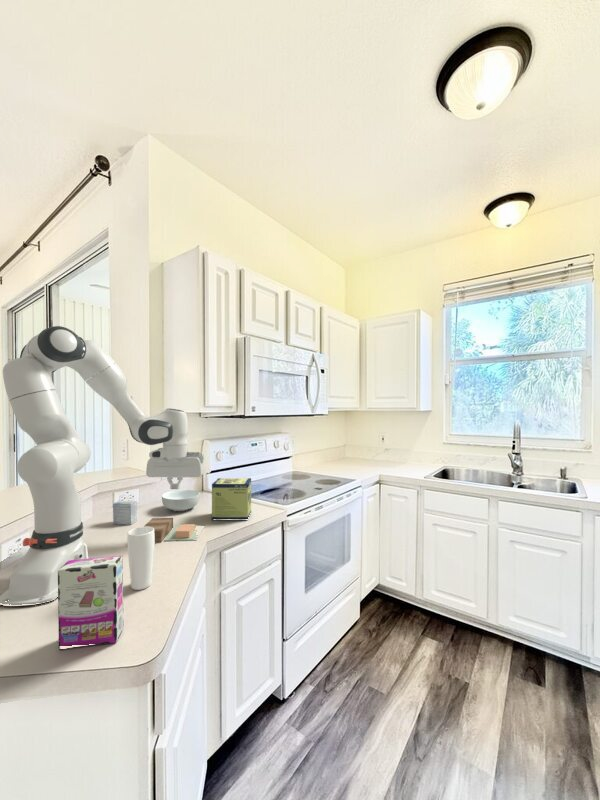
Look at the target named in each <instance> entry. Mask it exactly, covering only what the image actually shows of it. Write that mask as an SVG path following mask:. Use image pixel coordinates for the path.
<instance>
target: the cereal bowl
mask: <svg viewBox="0 0 600 800" xmlns="http://www.w3.org/2000/svg"><path fill="white" fill-rule="evenodd" d="M200 498H201V493H200V491H198V490H195V489H174V490H171V491H166V492H164V493H163V494H162V495H161V502H162V505H163V506H164V508H166V509H168V510H171V511H172V510H173V512H176V511H181V512H186V511H188V509H189V510H190V509H192V508H194V507H195V506H197V505H198V503H200ZM185 510H186V511H185Z"/></svg>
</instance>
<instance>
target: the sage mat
mask: <svg viewBox="0 0 600 800" xmlns="http://www.w3.org/2000/svg"><path fill="white" fill-rule="evenodd" d="M180 526H181V525H175V526H174V527H173V529H172V530H171V531H170V532H169V533H168V535H167V536H166V537H165V538H164V539H163V541H164V542H177V541H176V540H189V541H194V540H193V539H197V538H198V539H199V537H196V536H198V535H196V532H197V530H195V531H196V532H194V533H193V534H192V535H191V536H190V538H175V531H176V530H177V529H178V528H179V527H180ZM196 526H198V525H196V524H195V528H196ZM198 539H197V540H198Z"/></svg>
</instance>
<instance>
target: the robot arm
mask: <svg viewBox="0 0 600 800" xmlns="http://www.w3.org/2000/svg"><path fill="white" fill-rule="evenodd" d="M64 367H68V368H70V369H72V370H74V371H76V373H77V374H79V376H80V377H81V378H82V380H83V381H84V382H85V383H86V384H87V385H88V386H89V387H90V389H91V390H93V391H94V392H95V393H96V394H97V395H99V396H100V397H101V398H103V399H104V400H105V401H107V402H108V403H109V404H110V405H112V406H113V408H114V409H115V410H116V411H117V412H118V413H119V415H120V416H121V417H122V418H123V420H124V421H125V422H126V424H127V425H128V431H129V432H130V433H129V434H130V435H131V437H132V439H133V440H134V441H136V442H138V443H141V444H145V445H147V446H155V445H159V444H162V447H160V448H158V449H154V450H152V451H150V452H149V453H148V457H149V459H148V460H147V462H146V470H145V474H146V476H147V477H148V478H167V480H166V481H167V483H168V484H169V486H170V490H180V485H181V482H182V481H183V479H184V478H201V476H203V475H204V467H203V466H204V465H203V463H204V455H203V454H202V453H201V452H199V451H195V452H194V451H188V450H189V442H188V434H189V420H188V415H187V413H186V412H185V411H184V410H181V409H176V408H165V409H164V410H163V411H161V412H160V413H158V414H156V415H153V416H148V415H146V414H145V413H143V412H142V410H141V409H140V408H139V407H138V405H137V404H136V403H135V401H134V400H133V399H132V398H131V396H130V394H129V392H128V385H127V384H128V381H127V378H126V375H125V374H124V372H123V370H122V369H121V367H120V366H119V365H118V363H117V362H116V361H115V360H114V359H113V358H112V356H111V355H110V354H109V353H108V352H106V350H105V349H103V348H102V347H101V346H100V345H99V344H98V343H96V341H93V340H89V339H87V340H84V338H82V337H81V336H79V335H78V334H77V333H75V332H74V331H73V330H71V329H69V328H67V327H64V326H60V325H55V326H50V327H47V328H44V329H43V330H41V331H40V332H39V333H37V334H36V335H35V336H33V337H31V338H30V340H28V342H27V343H26V344H25V345H24V346H23V348H22V349H21V351H20V354H19V357H17V358H14V359H12V360H9V361H8V362H7V363H6V364H4V365H3V368H2V377H3V384H4V388H5V391H6V395H7V399H8V401H9V404H10V407H11V408H12V409H11V410H12V412H13V414H14V416H15V419H16V422H17V425H18V426H19V428H20V429H21V431H23V432H24V433H25V434H27V435H28V436H29V437H30V438H31V439H32V441H33V442H34V443H35V444H36V445H35V446H32V447H31V448H30V449H29V450H27V451H25V452H24V453H23V454H22V455H21V456H20V458H19V459H18V461H17V463H16V464H17V465H16V466H17V467H16V470H17V473H18V475H19V477H20V478H21V479H22V481H24V482H25V483H26V484H27V486H28V488H29V491H30V494H31V497H32V500H33V513H34V515H33V516H34V517H33V518H34V520H33V521H34V529H33V531H32V533H31V536H30V537H25V538H24V539H23V541H22V543H21V544H22V546H23V547H26V546H29V548H28V550H27V551H26V552H25V554H24V555H23V557H22V558H21V560H20V561H19V562H18V564H17V566H16V567H15V569H14V570H13V571H12V573H11V574H10V576H9V577H10V579H9V586H8V588H7V589H6V590H5V591H4V592H3V593H2V594H1V595H0V603H2V604H9V605H10V604H11V605H22V604H36V603H43V602H47V601H51V600H53V599H55V598H56V597H58V570H59V569H60V568H61V567H62V566H63V565H64V564H65V563H66V562H67V561H69V560H79V559H89V553H88V546H87V543H86V542H85V541H84V539H83V535H84V524H83V521H82V497H81V494H80V493H79V492H78V491H77V488H76V485H75V481H74V474H75V473H77V472H79V471H81V470H82V469H83V468H84V467H85V466H86V465H87V464H88V462H89V460H90V459H91V456H92V455H91V453H92V451H91V448H90V446H89V444H87V443H86V442H85V440H83V439H82V438H81V436H80V435H79V433H78V432H77V431H76V429H75V428H74V426H73V425H72V423H71V421H70V420H69V418H68V416H67V414H66V412H65V409H64V406H63V404H62V402H61V399H60V396H59V394H58V391H57V389H56V387H55V383H53V377H52V376H53V375H52V374H53V373H55V372H56V371H58V370H60V369H62V368H64ZM174 478H177V480H176V481H177V483H174V481H173V479H174ZM8 600H9V601H8ZM5 601H7V602H5Z"/></svg>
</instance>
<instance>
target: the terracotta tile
mask: <svg viewBox="0 0 600 800" xmlns="http://www.w3.org/2000/svg"><path fill="white" fill-rule="evenodd" d="M195 525H196V524H195V523H192V524H191V523H190V524H189V523H186V524H184V523H183V524H182V523H181V525H179V526H180V527H179V528H178V529H177V530H176V531H175V538H190V536H191V535H192V534H193V533H194V531H195Z"/></svg>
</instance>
